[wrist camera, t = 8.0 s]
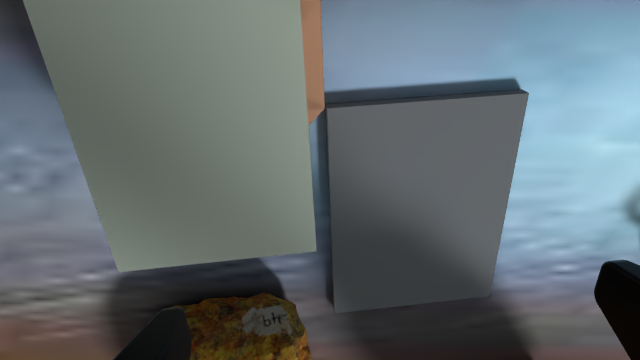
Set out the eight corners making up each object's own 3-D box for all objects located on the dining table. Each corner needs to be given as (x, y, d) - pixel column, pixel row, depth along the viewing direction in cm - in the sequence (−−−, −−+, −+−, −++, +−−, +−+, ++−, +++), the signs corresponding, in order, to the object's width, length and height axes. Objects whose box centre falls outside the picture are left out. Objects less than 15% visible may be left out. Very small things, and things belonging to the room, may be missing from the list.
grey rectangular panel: (484, 289, 25) (489, 296, 24) (333, 305, 24) (334, 313, 24) (521, 89, 19) (528, 93, 19) (325, 104, 19) (327, 108, 18)
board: (311, 218, 16) (316, 251, 14) (135, 236, 16) (118, 272, 14) (282, -193, 10) (285, -222, 9) (4, -183, 10) (-53, -212, 8)
